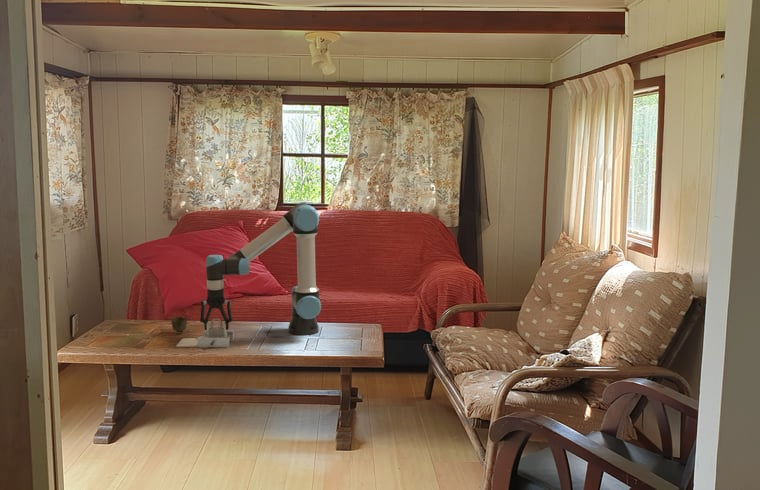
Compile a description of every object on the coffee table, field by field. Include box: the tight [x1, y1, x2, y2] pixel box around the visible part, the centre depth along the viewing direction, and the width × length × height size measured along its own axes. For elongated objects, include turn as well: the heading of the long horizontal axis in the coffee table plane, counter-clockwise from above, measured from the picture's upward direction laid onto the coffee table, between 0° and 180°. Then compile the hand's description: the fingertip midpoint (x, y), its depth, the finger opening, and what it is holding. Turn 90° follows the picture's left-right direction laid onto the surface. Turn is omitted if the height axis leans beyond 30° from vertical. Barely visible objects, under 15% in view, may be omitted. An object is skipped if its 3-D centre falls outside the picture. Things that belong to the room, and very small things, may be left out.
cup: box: [171, 315, 188, 336], centre depth 336 cm, size 8×7×8 cm
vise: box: [197, 329, 235, 348], centre depth 320 cm, size 14×17×4 cm
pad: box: [175, 337, 198, 348], centre depth 321 cm, size 9×12×1 cm
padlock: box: [209, 317, 224, 337], centre depth 320 cm, size 7×4×10 cm, turn 92°
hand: (217, 336), depth 321 cm, fingers closed on padlock, 7 cm apart
